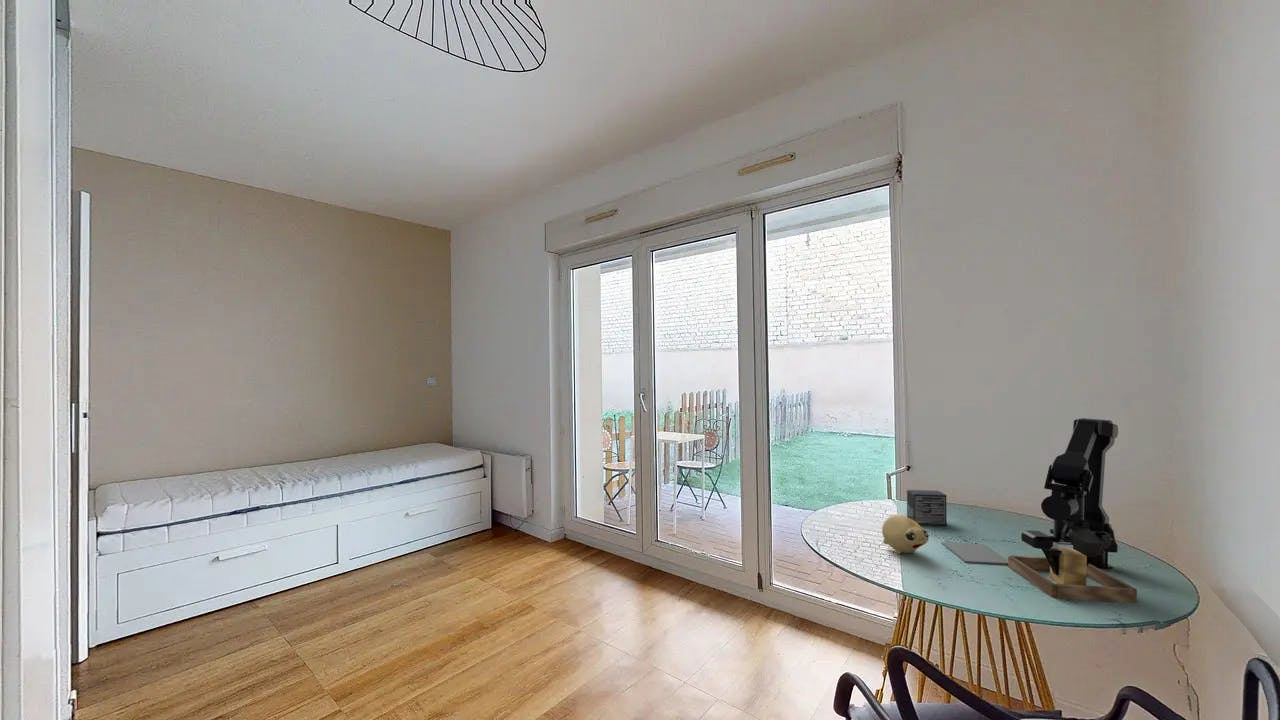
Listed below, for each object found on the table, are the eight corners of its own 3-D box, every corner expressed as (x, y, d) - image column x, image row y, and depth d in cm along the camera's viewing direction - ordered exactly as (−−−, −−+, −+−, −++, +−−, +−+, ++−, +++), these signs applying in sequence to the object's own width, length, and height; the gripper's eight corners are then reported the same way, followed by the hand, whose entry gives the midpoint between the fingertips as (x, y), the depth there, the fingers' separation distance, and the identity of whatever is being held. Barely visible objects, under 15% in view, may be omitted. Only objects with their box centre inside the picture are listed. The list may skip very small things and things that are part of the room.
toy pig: (907, 563, 138) (907, 524, 138) (874, 547, 150) (875, 511, 150) (935, 559, 141) (936, 521, 141) (901, 543, 153) (902, 508, 153)
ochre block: (1071, 579, 129) (1071, 548, 129) (1086, 588, 124) (1086, 555, 124) (1049, 578, 130) (1050, 547, 130) (1063, 587, 125) (1064, 554, 125)
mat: (984, 545, 152) (984, 544, 151) (1012, 565, 138) (1012, 563, 138) (941, 543, 153) (941, 542, 153) (965, 562, 139) (965, 560, 139)
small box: (937, 520, 175) (938, 489, 175) (947, 526, 169) (947, 495, 168) (905, 519, 176) (906, 488, 176) (914, 525, 170) (914, 493, 169)
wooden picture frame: (1080, 570, 135) (1080, 558, 135) (1138, 603, 117) (1138, 590, 117) (1007, 566, 137) (1007, 555, 137) (1053, 598, 119) (1053, 585, 119)
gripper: (1050, 521, 120) (1048, 587, 120) (1138, 525, 118) (1136, 592, 118) (1020, 507, 131) (1019, 567, 131) (1100, 510, 129) (1099, 572, 129)
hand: (1067, 575), depth 127 cm, fingers closed on ochre block, 5 cm apart
